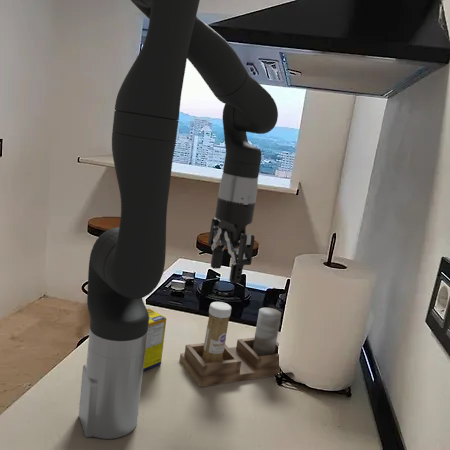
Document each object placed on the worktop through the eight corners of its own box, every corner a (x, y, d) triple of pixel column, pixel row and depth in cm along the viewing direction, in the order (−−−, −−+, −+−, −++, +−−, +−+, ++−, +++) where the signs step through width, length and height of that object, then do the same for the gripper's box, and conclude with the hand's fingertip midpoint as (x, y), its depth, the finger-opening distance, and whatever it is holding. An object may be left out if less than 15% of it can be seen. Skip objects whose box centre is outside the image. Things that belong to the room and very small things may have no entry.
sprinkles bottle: (215, 371, 96) (224, 311, 93) (196, 363, 98) (206, 304, 95) (225, 363, 100) (235, 305, 97) (208, 355, 102) (217, 299, 99)
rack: (200, 387, 92) (208, 329, 90) (179, 359, 102) (186, 306, 99) (292, 372, 103) (302, 321, 101) (266, 348, 113) (275, 301, 110)
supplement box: (143, 353, 102) (148, 307, 100) (161, 364, 98) (167, 317, 96) (121, 361, 98) (126, 313, 95) (140, 373, 94) (145, 324, 92)
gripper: (204, 189, 96) (194, 264, 99) (237, 204, 84) (224, 288, 87) (236, 192, 99) (224, 263, 103) (272, 206, 87) (258, 287, 91)
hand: (224, 275), depth 95 cm, fingers open, 8 cm apart
